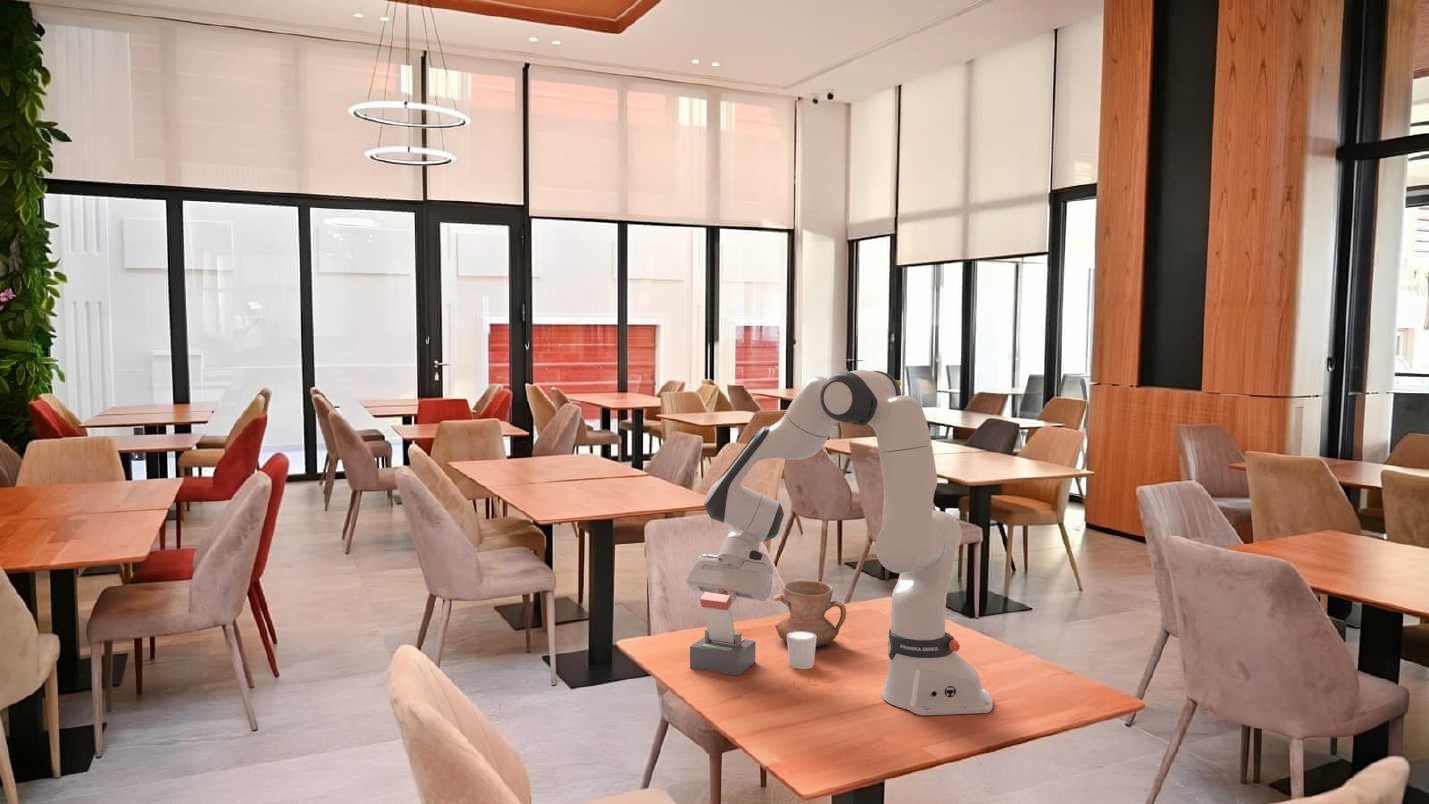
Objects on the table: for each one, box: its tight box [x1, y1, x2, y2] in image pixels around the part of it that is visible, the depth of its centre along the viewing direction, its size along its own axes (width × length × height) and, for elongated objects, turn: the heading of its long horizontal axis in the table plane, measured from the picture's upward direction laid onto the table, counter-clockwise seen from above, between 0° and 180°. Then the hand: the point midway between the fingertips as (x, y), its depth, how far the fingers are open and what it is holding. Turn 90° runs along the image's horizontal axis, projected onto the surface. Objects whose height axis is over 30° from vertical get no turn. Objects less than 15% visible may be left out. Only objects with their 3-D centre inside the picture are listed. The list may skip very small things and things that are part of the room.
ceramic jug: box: [773, 579, 847, 648], centre depth 237 cm, size 18×14×14 cm
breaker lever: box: [699, 592, 737, 644], centre depth 218 cm, size 3×6×13 cm, turn 65°
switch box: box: [689, 628, 756, 677], centre depth 221 cm, size 10×12×8 cm
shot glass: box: [786, 631, 817, 670], centre depth 221 cm, size 7×7×7 cm
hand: (719, 610), depth 219 cm, fingers closed, pressing on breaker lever
